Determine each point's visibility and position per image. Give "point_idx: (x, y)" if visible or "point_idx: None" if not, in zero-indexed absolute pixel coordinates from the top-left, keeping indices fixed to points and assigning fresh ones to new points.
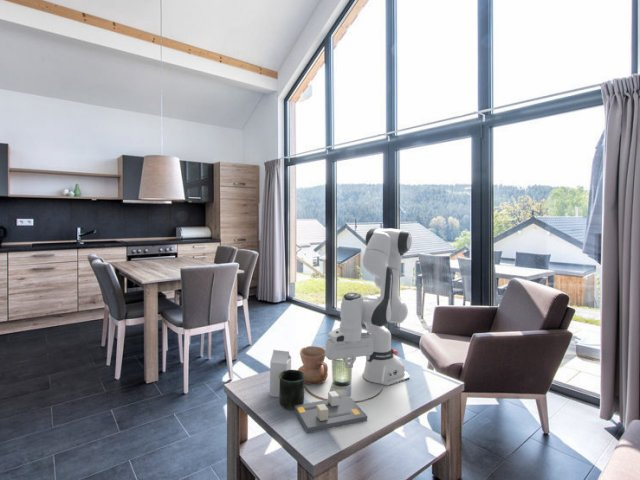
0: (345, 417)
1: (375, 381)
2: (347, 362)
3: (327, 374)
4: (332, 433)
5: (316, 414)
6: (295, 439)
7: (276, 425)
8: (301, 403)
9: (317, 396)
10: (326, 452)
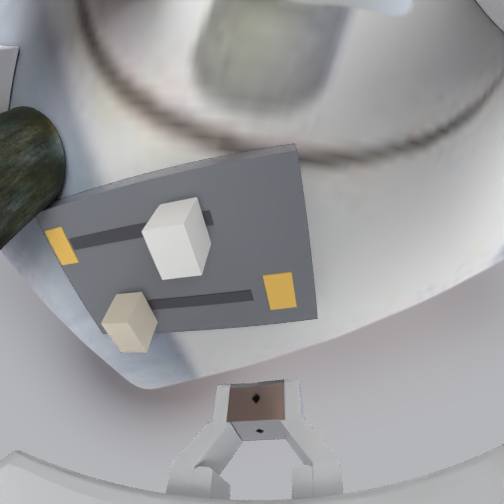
0: (226, 316)
1: (495, 18)
2: (246, 421)
3: None
4: (178, 336)
5: (115, 296)
6: (86, 333)
7: (27, 275)
8: (53, 196)
9: (127, 85)
10: (162, 378)
